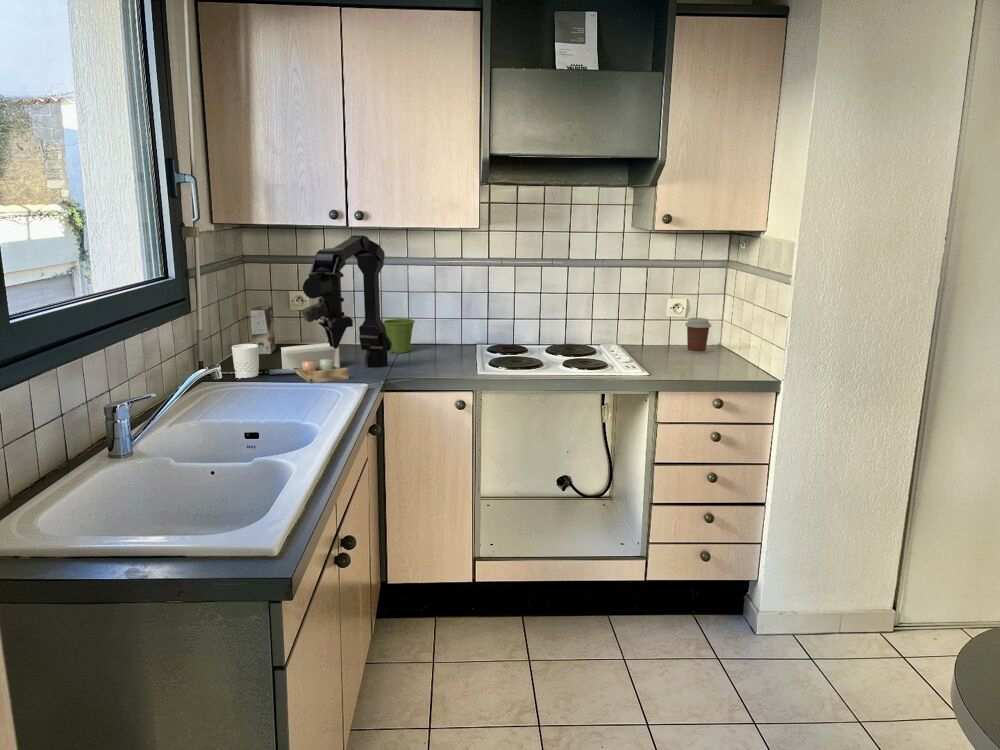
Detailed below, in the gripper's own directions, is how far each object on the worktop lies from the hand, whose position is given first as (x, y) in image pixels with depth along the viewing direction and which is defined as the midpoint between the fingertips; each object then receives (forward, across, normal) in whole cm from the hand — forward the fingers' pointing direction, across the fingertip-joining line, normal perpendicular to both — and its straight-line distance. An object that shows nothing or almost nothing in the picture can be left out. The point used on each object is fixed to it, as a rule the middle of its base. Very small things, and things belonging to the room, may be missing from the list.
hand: (333, 347), depth 219 cm
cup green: (+11, -18, +3) cm, 21 cm away
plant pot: (+12, -40, +37) cm, 56 cm away
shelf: (+12, -25, 0) cm, 28 cm away
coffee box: (+12, -64, -6) cm, 65 cm away
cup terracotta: (+11, -18, -3) cm, 21 cm away
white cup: (+12, -26, -20) cm, 35 cm away
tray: (+12, -13, 0) cm, 18 cm away
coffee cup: (+12, +13, +132) cm, 133 cm away
